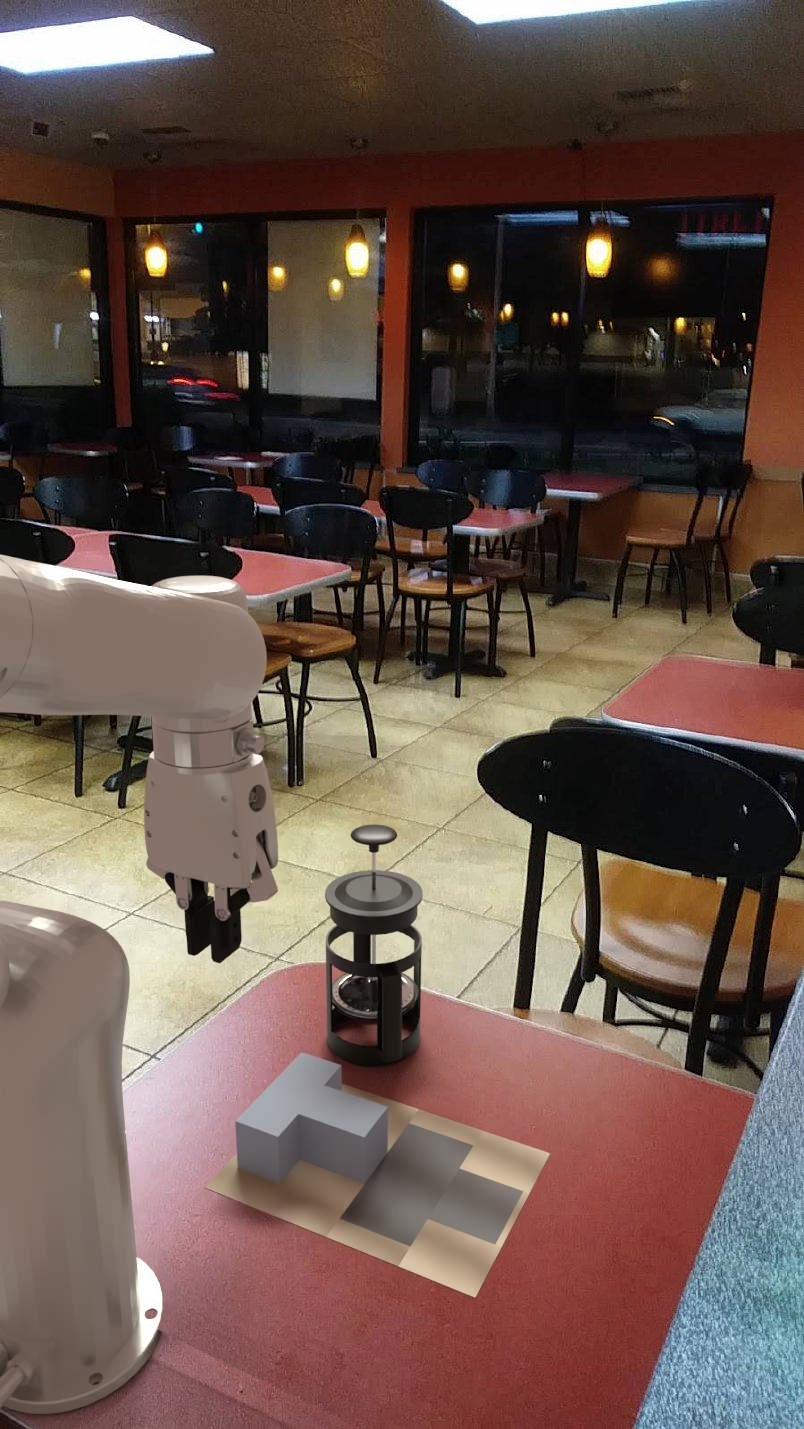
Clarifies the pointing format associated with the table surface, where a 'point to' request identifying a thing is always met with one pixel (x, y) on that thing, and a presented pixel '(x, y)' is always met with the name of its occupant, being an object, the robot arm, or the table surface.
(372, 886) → the french press
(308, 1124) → the t block
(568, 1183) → the table surface
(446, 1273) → the board
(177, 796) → the robot arm
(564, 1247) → the table surface
